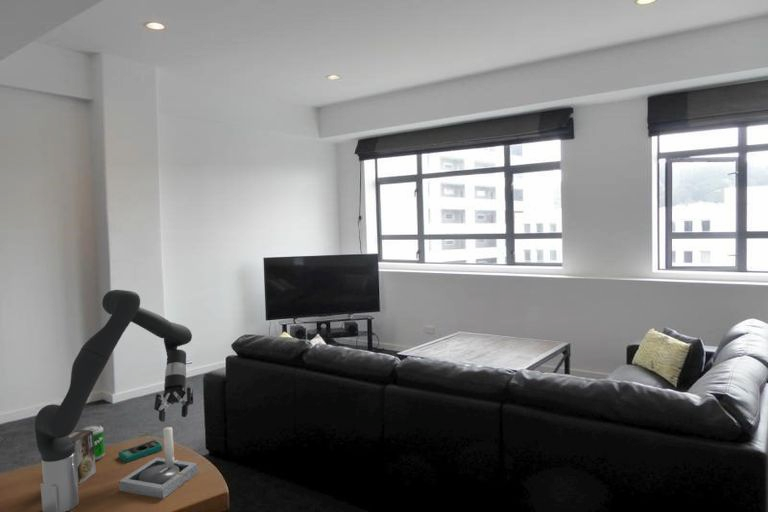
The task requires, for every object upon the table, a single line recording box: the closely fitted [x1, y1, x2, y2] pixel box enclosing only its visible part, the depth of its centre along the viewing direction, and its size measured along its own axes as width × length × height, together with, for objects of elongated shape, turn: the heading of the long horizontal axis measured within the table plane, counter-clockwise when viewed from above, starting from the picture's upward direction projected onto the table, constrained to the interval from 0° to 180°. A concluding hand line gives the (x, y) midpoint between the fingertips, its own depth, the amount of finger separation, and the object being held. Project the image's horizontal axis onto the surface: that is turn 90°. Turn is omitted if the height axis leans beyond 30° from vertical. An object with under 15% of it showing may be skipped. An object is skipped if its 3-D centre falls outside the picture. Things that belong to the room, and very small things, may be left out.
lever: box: [139, 426, 180, 485], centre depth 187 cm, size 13×13×16 cm
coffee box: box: [68, 429, 97, 486], centre depth 191 cm, size 9×6×16 cm
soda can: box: [82, 424, 106, 462], centre depth 207 cm, size 8×8×12 cm
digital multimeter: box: [118, 439, 163, 463], centre depth 210 cm, size 7×15×3 cm, turn 137°
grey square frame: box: [118, 457, 199, 499], centre depth 188 cm, size 18×18×4 cm
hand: (173, 418), depth 198 cm, fingers open, 8 cm apart
